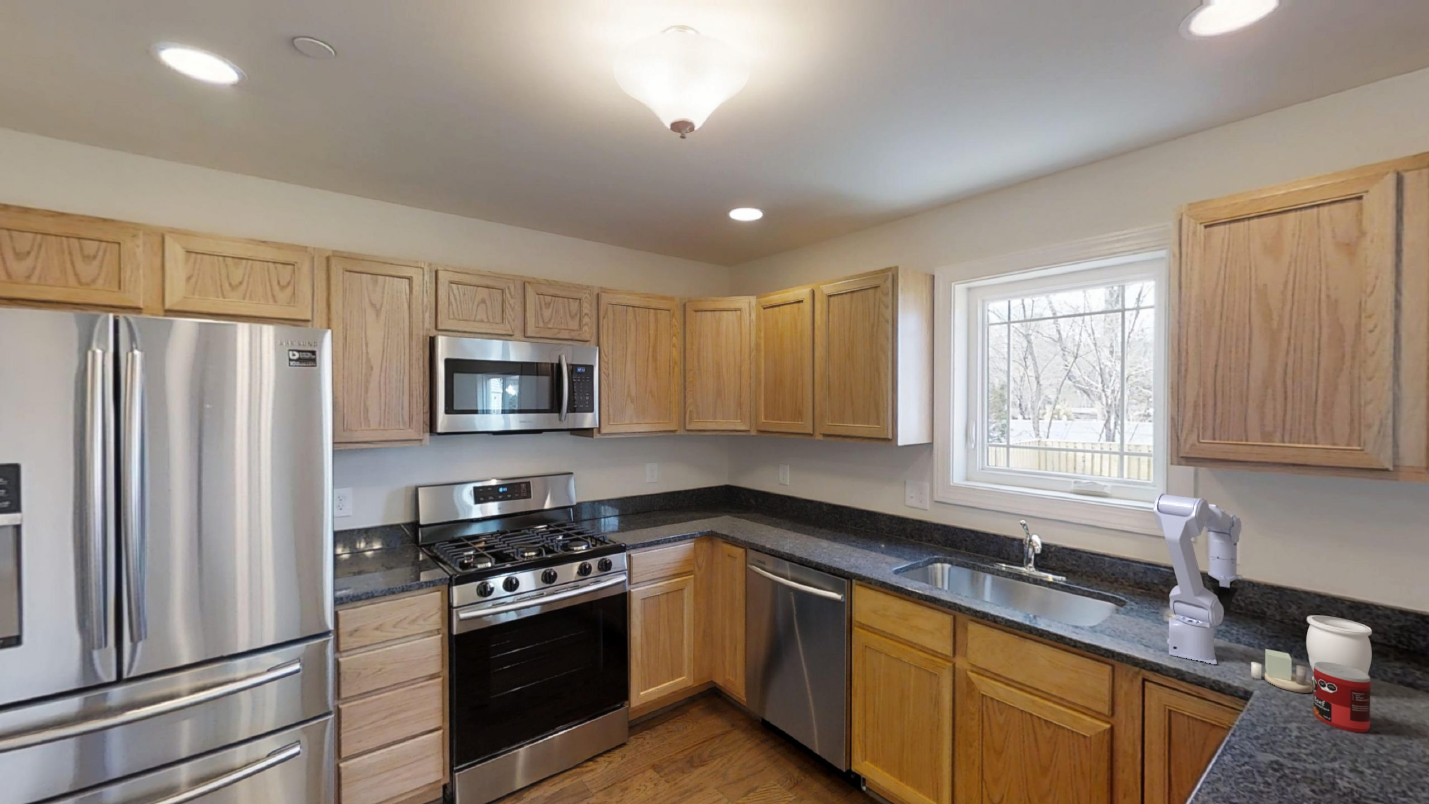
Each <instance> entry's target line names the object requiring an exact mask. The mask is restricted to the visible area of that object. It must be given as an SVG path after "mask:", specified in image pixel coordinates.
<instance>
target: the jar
mask: <svg viewBox="0 0 1429 804" xmlns="http://www.w3.org/2000/svg"><path fill="white" fill-rule="evenodd" d="M1306 622H1307V623H1308V624H1309V627H1308V629H1307V634H1306V638H1305V639H1306V642H1305V644H1306V651H1307V654H1308V661H1309V664H1310V667H1311V670H1312V673H1314V664H1315V663H1316V662H1329V663H1336V664H1340V665H1345V666H1348V667H1351V668H1355V669H1357V670H1360V671H1362V672H1364V673H1366V674H1368V675H1369V670H1370V667H1371V663H1372V659H1373V658H1372V656H1373V655H1372V653H1373V652H1372V644H1371V641H1370V638H1369V636H1371V635H1372V632H1373V631H1372V629H1371V627H1369V626H1367V625H1365V624H1362V623H1359V622H1356V621H1353V620H1349V619H1345V618H1340V617H1334V616H1328V615H1308V616H1307V617H1306ZM1311 681H1312V682H1314V675H1313V676H1312V677H1311Z"/></svg>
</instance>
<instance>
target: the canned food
mask: <svg viewBox="0 0 1429 804" xmlns="http://www.w3.org/2000/svg"><path fill="white" fill-rule="evenodd" d="M1313 676H1314V681H1313V695H1312V696H1313V701H1312V702H1313V703H1312V704H1313V707H1312V710H1313V714H1314V716H1315V718H1316V719H1318V720H1319V721H1320V722H1322V723H1324V724H1326V725H1329V726H1331V727H1333V728H1337V729H1340V730H1343V731H1346V732H1347V731H1348V732H1353V733H1360V734H1361V733H1367V732H1368V731H1369V729H1370V724H1371V723H1370V722H1371V721H1370V720H1371V715H1370V714H1371V676H1370V674H1369V673H1368V674H1366V673H1364V672H1362V671H1360V670H1357V669H1355V668H1351V667H1348V666H1345V665H1340V664H1336V663H1329V662H1316V663H1315V664H1314V672H1313Z"/></svg>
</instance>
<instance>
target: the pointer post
mask: <svg viewBox="0 0 1429 804" xmlns="http://www.w3.org/2000/svg"><path fill="white" fill-rule="evenodd" d="M1250 665H1251V666H1250V669H1251V670H1250V677H1251V676H1252V677H1254V678H1261V679H1262V667H1263V665H1262V664H1261V663H1259V662H1257V661H1256V662H1255V661H1251V663H1250Z"/></svg>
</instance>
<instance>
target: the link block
mask: <svg viewBox="0 0 1429 804" xmlns="http://www.w3.org/2000/svg"><path fill="white" fill-rule="evenodd" d="M1264 650H1265V652H1264V653H1265V654H1264V655H1265V656H1264V657H1265V658H1264V659H1265V660H1264V663H1265V664H1264V670H1265V671H1266V673H1267V675H1268V676H1271V677H1276V678H1280V679H1285V680H1289V681H1291V673H1292V658H1291V655H1290V654H1289V653H1288V652H1283V651H1277V650H1273V649H1268V648H1265V649H1264Z"/></svg>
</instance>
